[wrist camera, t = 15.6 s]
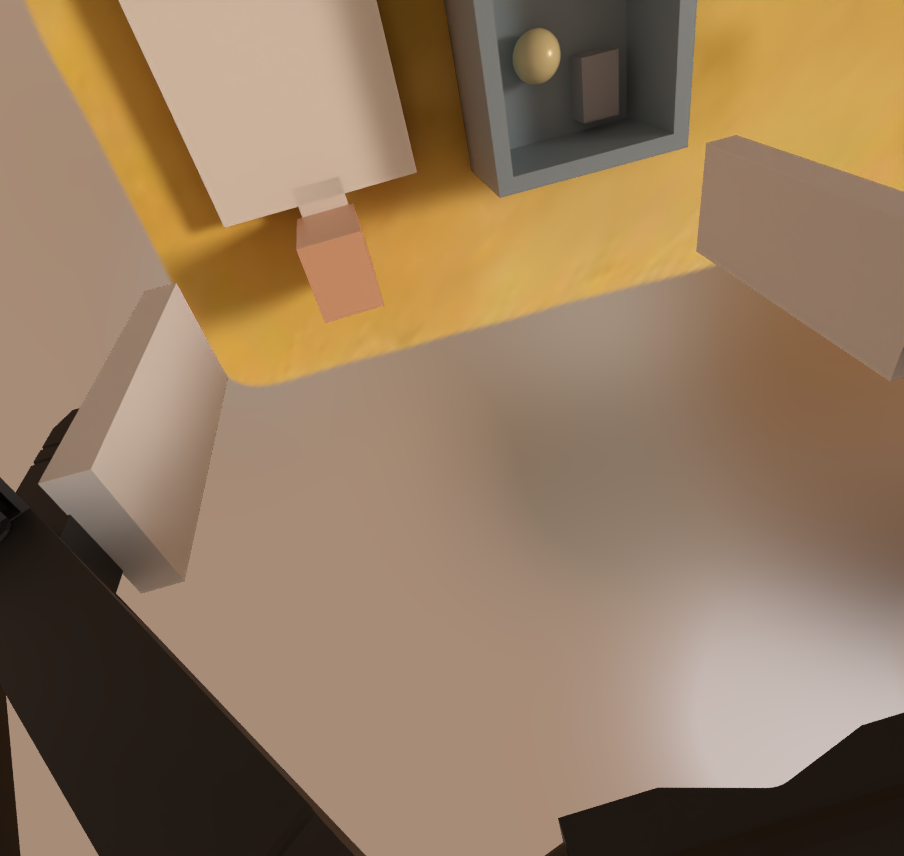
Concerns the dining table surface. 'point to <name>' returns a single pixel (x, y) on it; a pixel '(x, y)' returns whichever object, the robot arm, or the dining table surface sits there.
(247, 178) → the lid
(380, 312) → the dining table surface
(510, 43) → the tub
